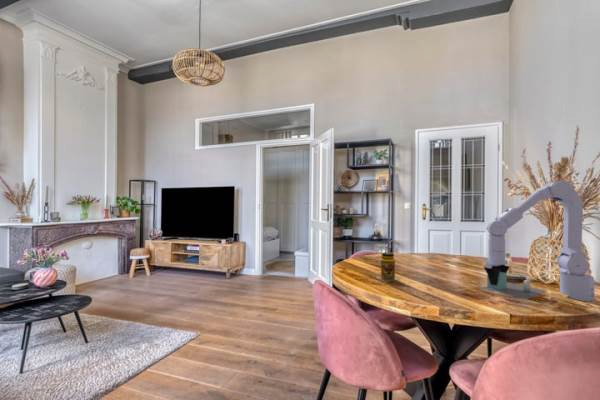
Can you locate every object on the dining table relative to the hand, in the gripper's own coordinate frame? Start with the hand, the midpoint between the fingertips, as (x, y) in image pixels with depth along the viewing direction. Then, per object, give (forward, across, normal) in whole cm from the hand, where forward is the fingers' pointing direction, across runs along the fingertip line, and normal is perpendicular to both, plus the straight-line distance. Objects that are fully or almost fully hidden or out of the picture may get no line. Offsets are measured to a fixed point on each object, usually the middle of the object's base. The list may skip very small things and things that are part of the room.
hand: (496, 283), depth 124 cm
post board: (+2, -2, +5) cm, 6 cm away
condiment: (+3, +23, -37) cm, 44 cm away
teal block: (+1, 0, 0) cm, 1 cm away
